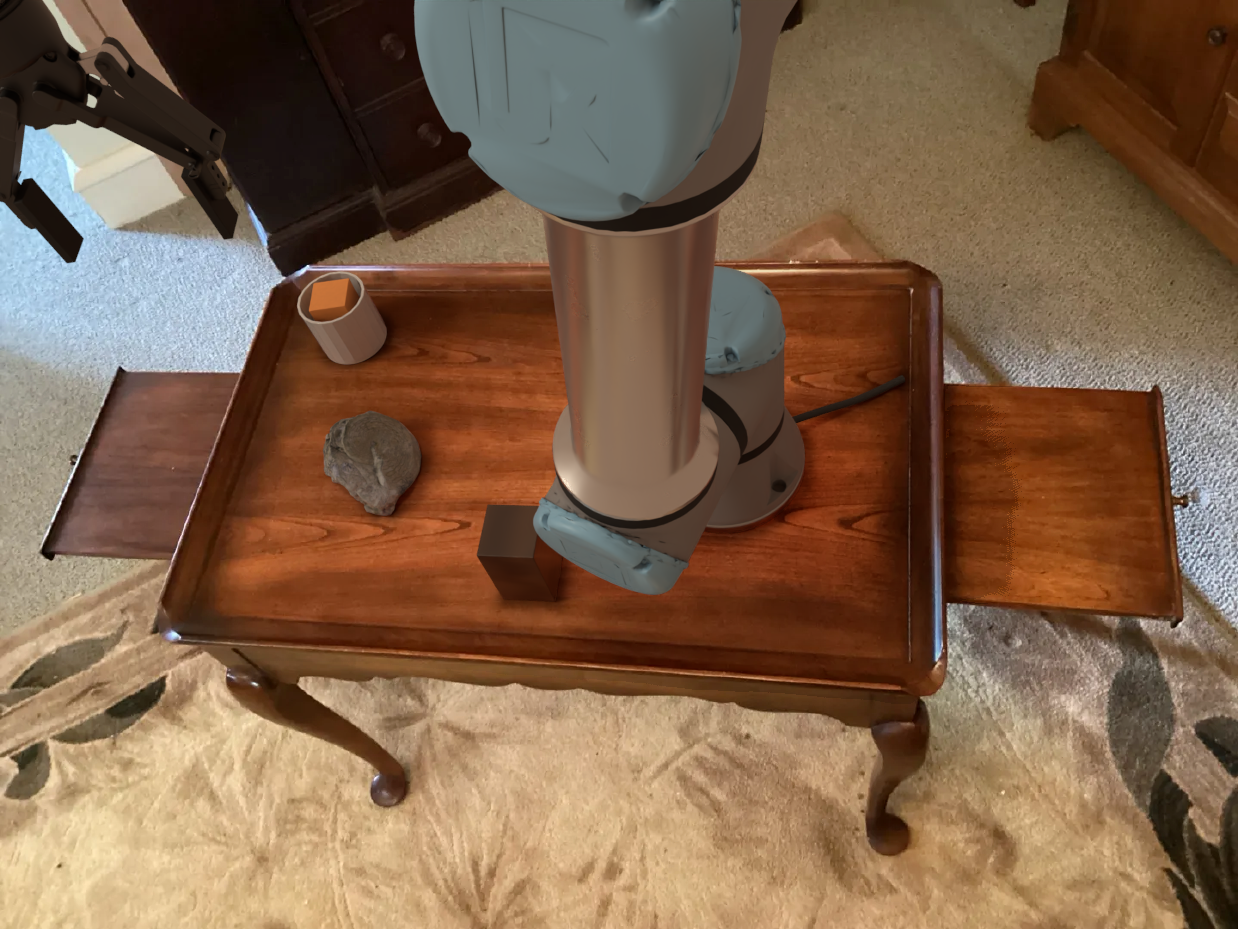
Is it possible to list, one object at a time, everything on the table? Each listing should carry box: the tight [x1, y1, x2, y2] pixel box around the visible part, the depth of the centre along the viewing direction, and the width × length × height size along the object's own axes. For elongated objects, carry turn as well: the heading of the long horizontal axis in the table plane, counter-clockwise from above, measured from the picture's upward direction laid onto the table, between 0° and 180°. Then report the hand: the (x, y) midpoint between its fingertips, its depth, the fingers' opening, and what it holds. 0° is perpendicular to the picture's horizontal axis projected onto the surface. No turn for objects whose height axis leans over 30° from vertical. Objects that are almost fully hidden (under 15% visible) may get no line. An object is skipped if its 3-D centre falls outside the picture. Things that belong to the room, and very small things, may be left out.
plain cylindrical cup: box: [296, 270, 388, 365], centre depth 106 cm, size 7×7×7 cm
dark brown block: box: [476, 503, 564, 603], centre depth 86 cm, size 5×5×9 cm
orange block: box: [309, 278, 360, 322], centre depth 105 cm, size 4×4×7 cm
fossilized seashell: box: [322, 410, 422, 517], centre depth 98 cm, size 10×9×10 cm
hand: (153, 239), depth 79 cm, fingers open, 13 cm apart
